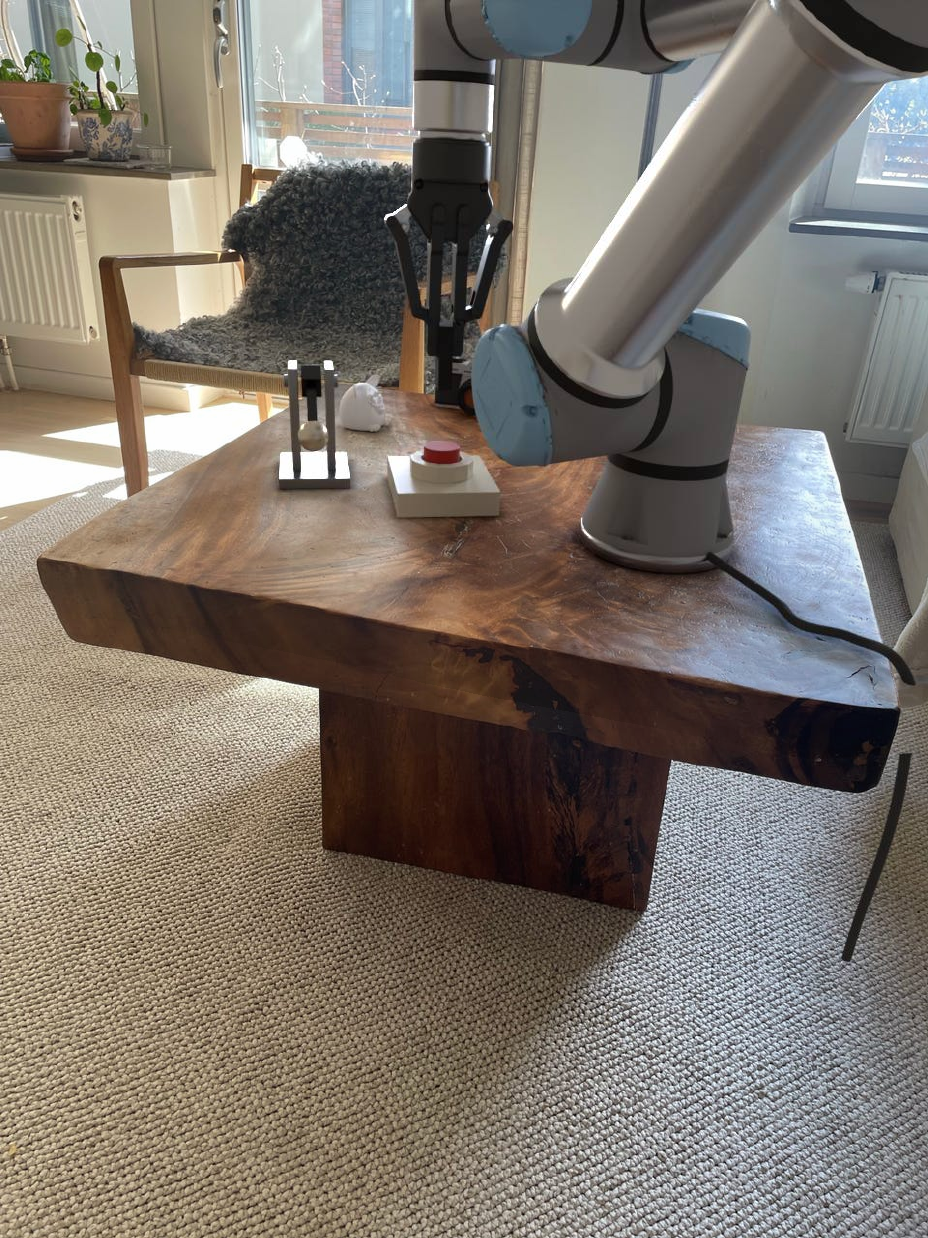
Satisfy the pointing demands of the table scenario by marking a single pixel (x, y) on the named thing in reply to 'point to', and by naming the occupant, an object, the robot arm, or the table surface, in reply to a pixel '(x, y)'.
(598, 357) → the robot arm
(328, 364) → the grey metal frame
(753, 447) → the table surface
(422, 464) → the control block
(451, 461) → the stop button
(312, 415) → the lever
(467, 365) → the camera
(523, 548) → the table surface
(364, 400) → the figurine
